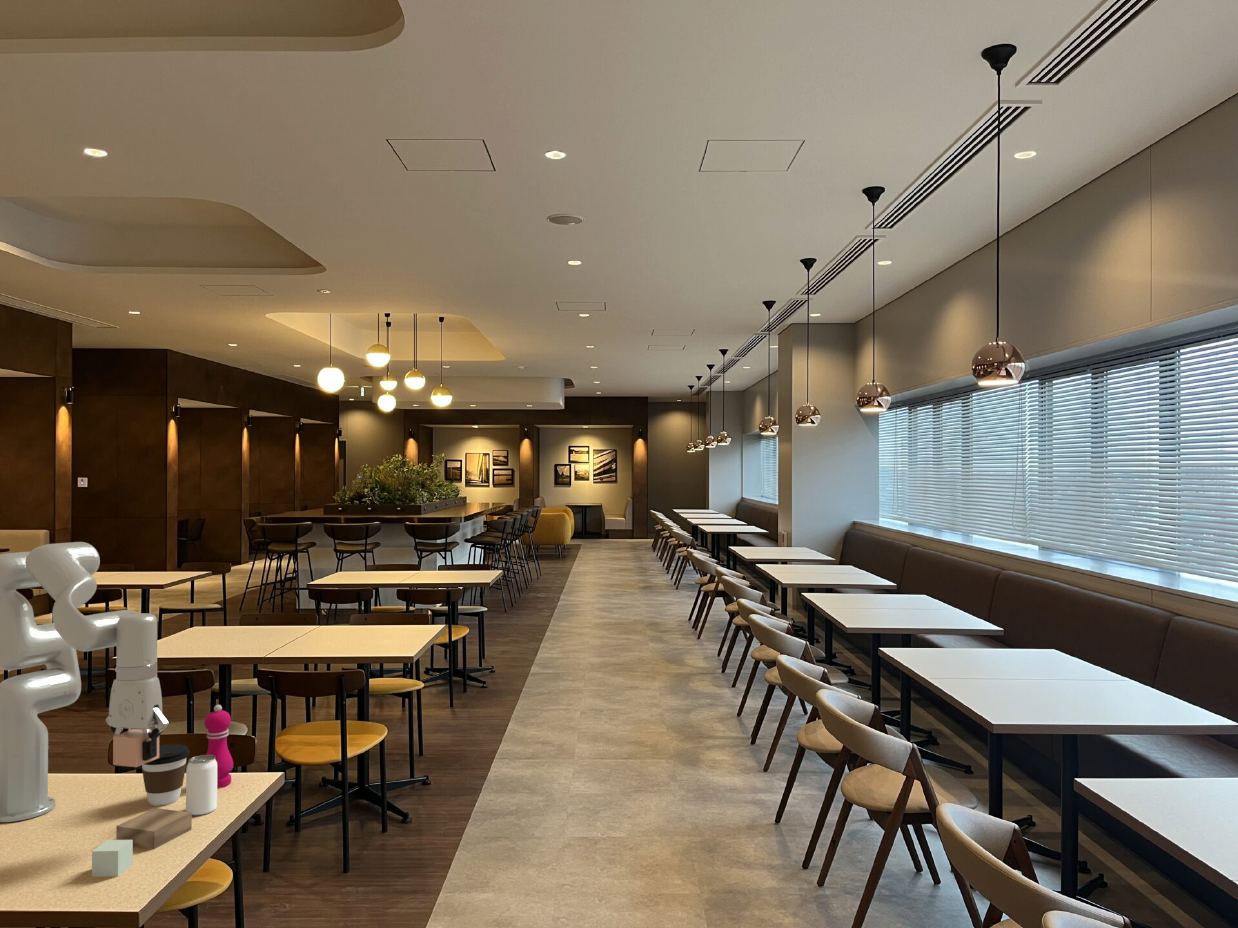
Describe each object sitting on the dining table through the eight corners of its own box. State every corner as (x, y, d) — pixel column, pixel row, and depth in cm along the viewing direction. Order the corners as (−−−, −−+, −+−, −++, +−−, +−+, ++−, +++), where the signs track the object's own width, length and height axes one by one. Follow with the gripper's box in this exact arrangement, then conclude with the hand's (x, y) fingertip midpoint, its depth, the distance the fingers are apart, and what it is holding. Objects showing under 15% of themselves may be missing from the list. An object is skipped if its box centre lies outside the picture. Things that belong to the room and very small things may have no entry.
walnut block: (116, 844, 174) (116, 825, 174) (154, 825, 184) (155, 807, 184) (154, 850, 172) (154, 831, 172) (191, 830, 181) (191, 812, 181)
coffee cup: (194, 801, 197) (195, 751, 197) (142, 813, 190) (143, 761, 190) (183, 788, 205) (184, 740, 205) (133, 799, 198) (134, 749, 198)
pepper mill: (214, 778, 212) (215, 700, 212) (239, 780, 211) (239, 701, 211) (194, 788, 205) (195, 707, 205) (220, 790, 204) (220, 709, 204)
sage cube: (91, 877, 160) (92, 851, 160) (107, 865, 165) (107, 839, 165) (118, 876, 160) (118, 850, 160) (132, 864, 165) (132, 839, 165)
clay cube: (113, 764, 174) (113, 736, 174) (136, 755, 179) (136, 727, 179) (136, 766, 172) (136, 738, 172) (159, 757, 178) (159, 729, 178)
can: (204, 817, 188) (204, 764, 188) (179, 814, 189) (179, 762, 189) (223, 806, 194) (223, 754, 194) (199, 804, 195) (199, 753, 195)
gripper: (89, 674, 175) (89, 759, 174) (155, 678, 170) (155, 766, 170) (119, 666, 182) (119, 748, 182) (183, 670, 177) (183, 754, 177)
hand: (136, 756), depth 176 cm, fingers closed on clay cube, 6 cm apart
